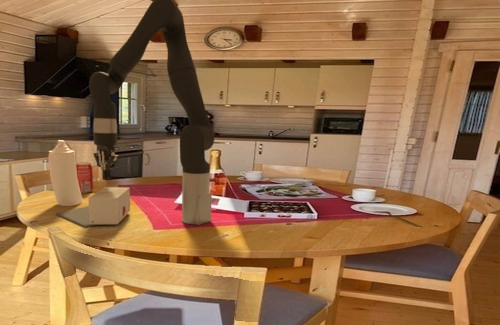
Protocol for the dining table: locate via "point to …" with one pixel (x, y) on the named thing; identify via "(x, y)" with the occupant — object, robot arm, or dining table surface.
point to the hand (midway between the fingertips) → (106, 179)
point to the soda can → (85, 176)
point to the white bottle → (64, 175)
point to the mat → (78, 216)
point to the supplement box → (109, 205)
